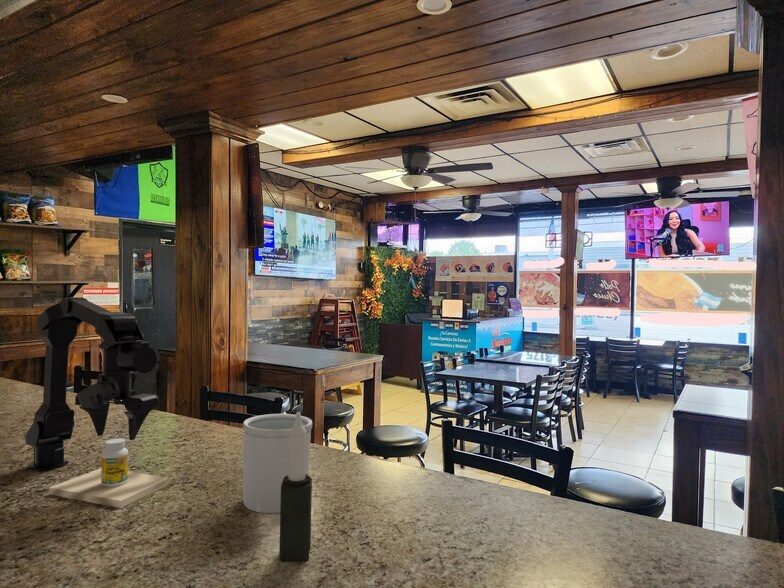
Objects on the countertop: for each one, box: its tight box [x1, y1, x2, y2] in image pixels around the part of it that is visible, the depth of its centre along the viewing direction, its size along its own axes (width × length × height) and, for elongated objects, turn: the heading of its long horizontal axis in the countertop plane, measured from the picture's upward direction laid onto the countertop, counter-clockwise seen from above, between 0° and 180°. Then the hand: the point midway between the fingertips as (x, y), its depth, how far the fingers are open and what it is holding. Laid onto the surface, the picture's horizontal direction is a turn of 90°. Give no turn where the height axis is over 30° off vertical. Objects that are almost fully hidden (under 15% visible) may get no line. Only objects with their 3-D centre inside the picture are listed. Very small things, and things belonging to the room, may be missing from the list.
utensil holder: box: [242, 413, 313, 514], centre depth 111 cm, size 15×15×18 cm
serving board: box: [48, 467, 170, 509], centre depth 115 cm, size 20×14×2 cm
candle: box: [278, 411, 313, 563], centre depth 88 cm, size 5×5×25 cm
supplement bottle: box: [101, 438, 129, 487], centre depth 115 cm, size 5×5×10 cm
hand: (115, 437), depth 115 cm, fingers open, 9 cm apart
